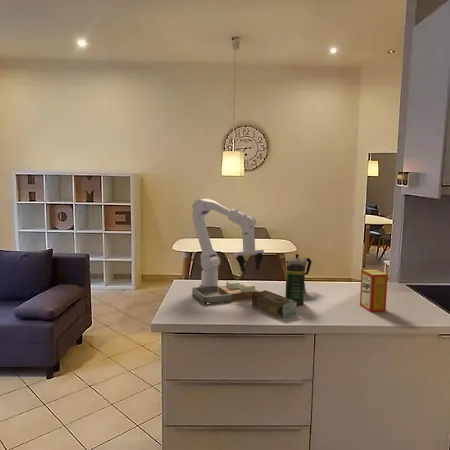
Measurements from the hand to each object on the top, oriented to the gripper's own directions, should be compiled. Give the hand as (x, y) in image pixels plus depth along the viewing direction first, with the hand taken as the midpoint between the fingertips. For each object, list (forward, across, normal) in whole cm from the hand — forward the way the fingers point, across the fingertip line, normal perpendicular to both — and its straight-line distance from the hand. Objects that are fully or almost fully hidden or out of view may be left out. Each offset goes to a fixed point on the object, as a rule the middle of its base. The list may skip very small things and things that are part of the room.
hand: (250, 270), depth 198 cm
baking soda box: (+15, +38, -39) cm, 56 cm away
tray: (+10, -20, -1) cm, 23 cm away
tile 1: (+6, -8, +2) cm, 10 cm away
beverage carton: (+13, -3, -27) cm, 30 cm away
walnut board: (+11, -7, -1) cm, 13 cm away
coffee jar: (+13, +11, -21) cm, 27 cm away
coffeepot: (+12, +24, -3) cm, 27 cm away
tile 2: (+7, -4, -5) cm, 9 cm away
